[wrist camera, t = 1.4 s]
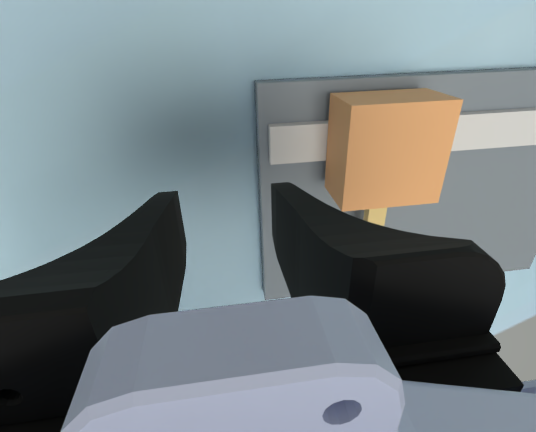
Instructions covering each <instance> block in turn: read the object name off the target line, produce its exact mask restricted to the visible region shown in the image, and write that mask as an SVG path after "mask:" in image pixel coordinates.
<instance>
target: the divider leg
mask: <svg viewBox="0 0 536 432" xmlns="http://www.w3.org/2000/svg"><path fill="white" fill-rule="evenodd" d="M463 100H464V99H460V98H457V97H454V96H451V95H447V94H444V93H441V92H438V91H434V90H431V89H428V88H416V89H397V90H378V91H359V92H340V93H330V104H329V120H328V137H327V153H326V169H325V188H326V189H327V191H328V192H329V194H330V195H331V197H332V198H333V199H334V201H335V202H336V204H337V205H338V207H339V208H340V210H341V211H342V212H345V211H355V210H364V217H363V220H365V221H368V222H371V223H374V224H378V225H381V226H384V225H385V219H386V213H387V208H388V207H399V206H409V205H420V204H431V203H438V202H439V198H440V194H441V190H442V186H443V182H444V178H445V173H446V169H447V165H448V161H449V157H450V153H451V149H452V145H453V141H454V137H455V132H456V128H457V124H458V120H459V116H460V112H461V108H462V104H463Z"/></svg>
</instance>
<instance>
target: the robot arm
mask: <svg viewBox="0 0 536 432" xmlns="http://www.w3.org/2000/svg"><path fill="white" fill-rule="evenodd" d="M271 211H272V237H273V242H274V247H275V252H276V256H277V260H278V263H279V265H280V268H281V271H282V274H283V277H284V279H285V282H286V285H287V287H288V290H289V293H290V296H291V298H286V299H278V300H270V301H261V302H253V303H245V304H236V305H228V306H219V307H211V308H203V309H194V310H186V311H178V308H179V302H180V297H181V291H182V286H183V280H184V274H185V268H186V238H185V232H184V226H183V220H182V215H181V209H180V203H179V197H178V191H172V192H159V193H157V194H156V195H154V196H153V197H152V198H150V199H149V200H148V201H147V202H146V203H144V204H143V205H142V206H141V207H140V208H138V209H137V210H136V211H135V212H134V213H132V214H131V215H130V216H129V217H127V218H126V219H124V220H123V221H122V222H120V223H119V224H118V225H116V226H115V227H113V228H112V229H111V230H109V231H108V232H106V233H105V234H103V235H102V236H100V237H98V238H97V239H95V240H93V241H92V242H90V243H88V244H86V245H85V246H83V247H81V248H79V249H77V250H75V251H73V252H70V253H68V254H66V255H64V256H62V257H60V258H58V259H56V260H53V261H51V262H49V263H47V264H44V265H42V266H39V267H37V268H34V269H32V270H29V271H26V272H24V273H21V274H18V275H15V276H12V277H10V278H7V279H3V280H0V432H536V380H530V381H524V382H521V381H520V380H519V378H518V377H517V376H516V375H515V374H514V373H513V372H512V370H511V369H510V368H509V367H508V366H507V365H506V363H505V362H504V361H503V360H502V359H501V358H500V356H499V355H498V354H497V353H496V352H499V351H500V348H501V346H500V343H499V342H498V341H497V339H496V338H495V337H494V336H493V335H492V334H491V333H490V332H489V330H490V328H491V325H492V323H493V321H494V318H495V316H496V313H497V311H498V308H499V306H500V303H501V301H502V297H503V294H504V290H505V285H506V284H505V273H504V272H503V270H502V268H501V266H500V264H499V263H498V262H497V261H496V260H494V259H493V258H492V257H491V256H490V255H489V254H487V253H486V252H485V251H484V250H483V249H481V248H480V247H479V246H478V245H477V244H476V243H474V242H473V241H472V240H467V239H458V238H448V237H438V236H429V235H423V234H417V233H412V232H406V231H401V230H397V229H392V228H389V227H385V226H381V225H378V224H374V223H371V222H368V221H365V220H362V219H359V218H357V217H354V216H351V215H349V214H347V213H344V212H342V211H340V210H338V209H336V208H334V207H332V206H330V205H328V204H326V203H324V202H322V201H320V200H319V199H317V198H315V197H314V196H312V195H310V194H309V193H307V192H305V191H304V190H302V189H300V188H299V187H297V186H296V185H294V184H292V183H290V182H282V183H271Z"/></svg>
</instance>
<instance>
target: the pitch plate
mask: <svg viewBox="0 0 536 432" xmlns="http://www.w3.org/2000/svg"><path fill="white" fill-rule="evenodd" d="M416 88H428V89H431V90H434V91H438V92H441V93H444V94H447V95H451V96H454V97H457V98H460V99H464V100H463V104H462V108H461V112H460V116H459V120H458V124H457V128H456V132H455V137H454V141H453V145H452V149H451V153H450V157H449V161H448V165H447V169H446V173H445V178H444V182H443V186H442V190H441V194H440V198H439V202H438V203H431V204H420V205H409V206H399V207H388V208H387V213H386V219H385V225H384V226H385V227H389V228H392V229H397V230H401V231H406V232H412V233H417V234H423V235H429V236H438V237H448V238H458V239H467V240H472V241H473V242H474V243H476V244H477V245H478V246H479V247H480V248H481V249H483V250H484V251H485V252H486V253H487V254H489V255H490V256H491V257H492V258H493V259H494V260H496V261H497V262H498V263H499V264H500V266H501V268H502V270H503V272H504V271H512V270H521V269H529V268H530V266H531V264H532V262H533V259H534V257H535V255H536V67H531V68H510V69H489V70H468V71H447V72H426V73H404V74H383V75H362V76H341V77H320V78H299V79H278V80H256V81H255V97H256V122H257V147H258V172H259V196H260V221H261V246H262V271H263V291H264V296H265V300H269V299H278V298H286V297H291V296H290V293H289V290H288V287H287V285H286V282H285V279H284V277H283V274H282V271H281V268H280V265H279V263H278V260H277V256H276V252H275V247H274V242H273V237H272V211H271V183H282V182H290V183H292V184H294V185H296V186H297V187H299V188H300V189H302V190H304V191H305V192H307V193H309V194H310V195H312V196H314V197H315V198H317V199H319V200H320V201H322V202H324V203H326V204H328V205H330V206H332V207H334V208H336V209H338V210H340V208H339V207H338V205H337V204H336V202H335V201H334V199H333V198H332V197H331V195H330V194H329V192H328V191H327V189H326V188H325V169H326V153H327V137H328V120H329V104H330V93H340V92H359V91H378V90H397V89H416ZM340 211H341V210H340ZM344 213H347V214H349V215H351V216H354V217H357V218H359V219H362V220H363V217H364V210H355V211H345V212H344Z"/></svg>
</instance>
